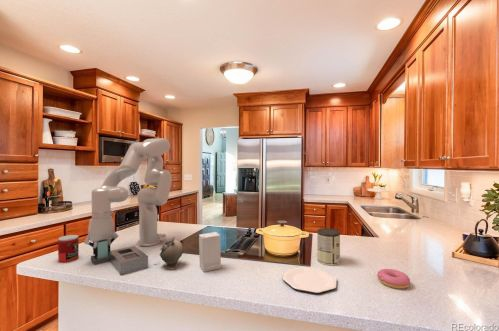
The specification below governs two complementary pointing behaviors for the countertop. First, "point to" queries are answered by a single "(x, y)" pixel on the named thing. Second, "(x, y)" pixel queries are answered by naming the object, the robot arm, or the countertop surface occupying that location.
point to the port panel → (128, 259)
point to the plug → (102, 249)
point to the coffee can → (328, 246)
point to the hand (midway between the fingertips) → (101, 254)
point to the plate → (310, 280)
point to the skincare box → (209, 251)
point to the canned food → (68, 248)
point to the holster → (99, 260)
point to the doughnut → (393, 278)
